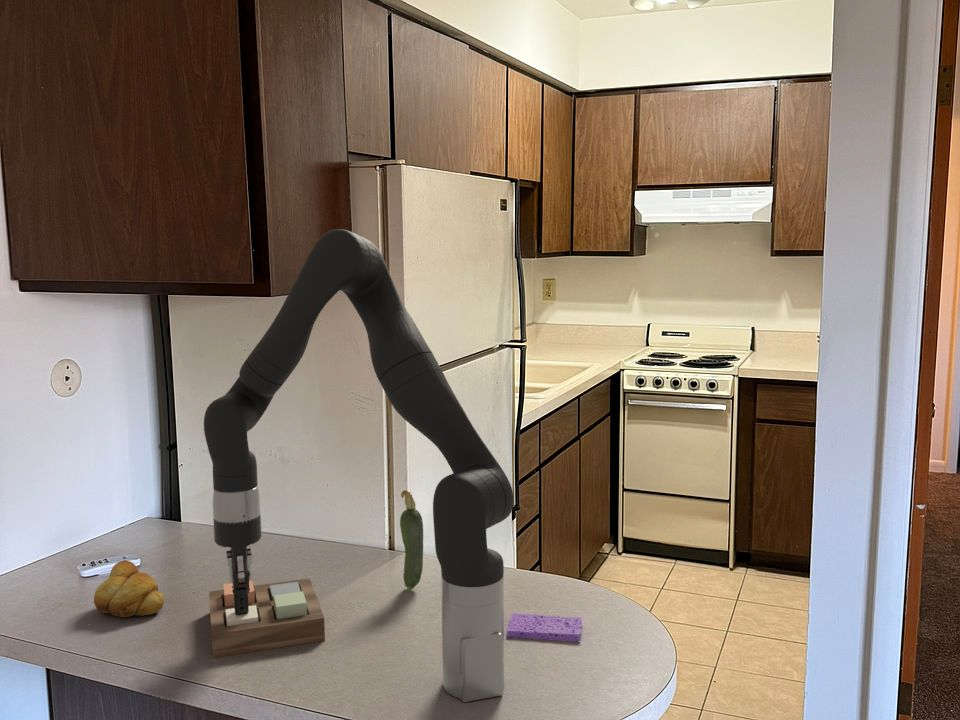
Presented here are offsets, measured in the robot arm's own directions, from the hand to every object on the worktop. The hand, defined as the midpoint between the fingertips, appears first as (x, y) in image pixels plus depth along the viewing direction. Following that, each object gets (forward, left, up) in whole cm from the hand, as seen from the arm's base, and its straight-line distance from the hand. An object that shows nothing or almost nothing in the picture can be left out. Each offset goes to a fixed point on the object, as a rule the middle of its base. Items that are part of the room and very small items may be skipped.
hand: (241, 612), depth 143 cm
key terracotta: (+8, 0, -2) cm, 8 cm away
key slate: (+8, -8, -3) cm, 12 cm away
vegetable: (+10, -32, -5) cm, 34 cm away
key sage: (0, -8, -2) cm, 8 cm away
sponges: (-14, -49, -6) cm, 51 cm away
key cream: (0, 0, -3) cm, 3 cm away
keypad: (+4, -4, -5) cm, 7 cm away
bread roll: (+19, +19, -5) cm, 27 cm away
